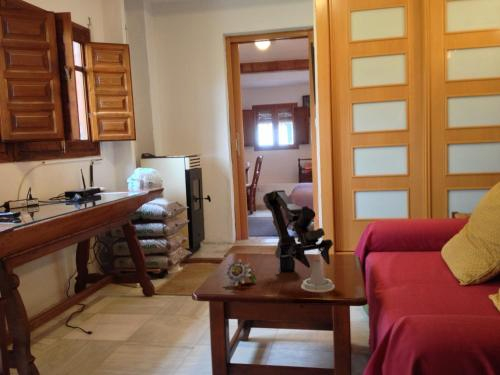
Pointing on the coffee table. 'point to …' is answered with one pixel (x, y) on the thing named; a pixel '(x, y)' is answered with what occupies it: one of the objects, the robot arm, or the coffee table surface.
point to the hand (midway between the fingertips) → (319, 265)
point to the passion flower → (239, 273)
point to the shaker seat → (318, 286)
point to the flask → (316, 274)
